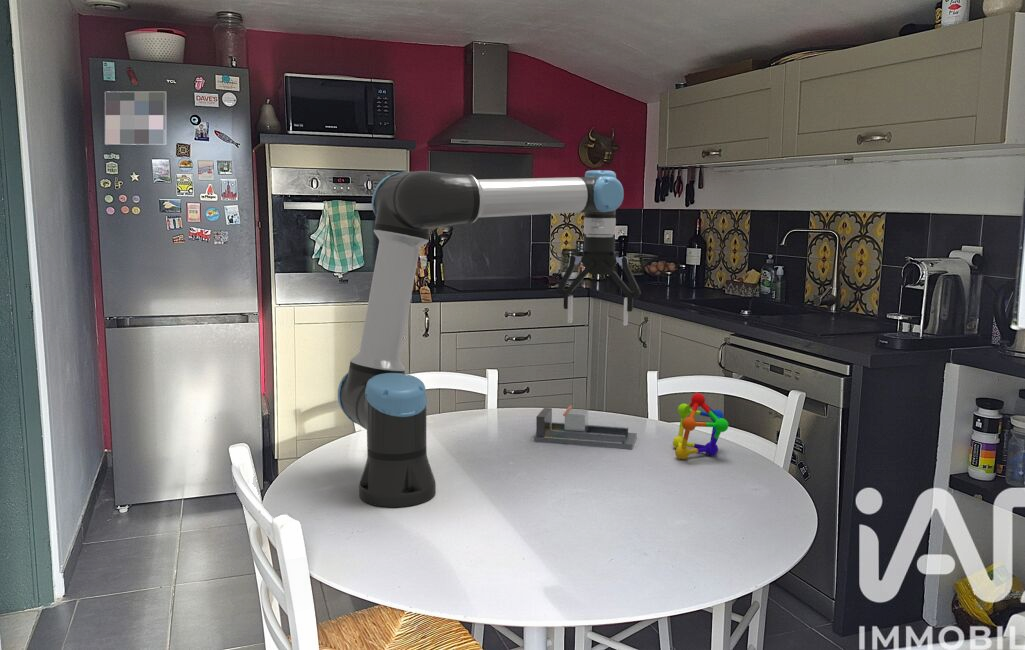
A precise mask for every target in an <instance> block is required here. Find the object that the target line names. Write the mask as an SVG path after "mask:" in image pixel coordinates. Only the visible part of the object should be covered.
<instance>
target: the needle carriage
mask: <svg viewBox="0 0 1025 650" xmlns="http://www.w3.org/2000/svg"><path fill="white" fill-rule="evenodd" d="M562 415H563V416H564V423H565V425H564V431H573V432H586V433H587V431H588V425H589V410H588V409H580V408H573V405H572V404H570V405H569V406H568V407H567V409H566V410H565V411H564V413H563V414H562Z"/></svg>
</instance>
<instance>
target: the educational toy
mask: <svg viewBox="0 0 1025 650" xmlns="http://www.w3.org/2000/svg"><path fill="white" fill-rule="evenodd" d="M699 407H701V408H702V409H703V410H704V411H703V410H698V408H699ZM677 412H678V415H680V421H679V428H678V429H679V430H678V436H675V437H674V439H673V440H672V446H673V447H674V448H675V457H676V458H678V459H679V460H686V459H687V458H688V457H689V456H690V455H691V454H693V455H694V454H700V453H705V454H707V455H708V456H710V455H713V456H715V455H717V453H718V451H719V447H718V445H717V442H718V439H719V438H720V435H721V433H724V432H726V431H727V430H728V429H729V422H728V421H727V420H726V418H725V415H724V413H723V411H722V410H720V409H714V410H713V409H712V408H711V407H710V406H709V405H708V404H707V403H706V398H705V396H704V394H702V393H700V392H696V393H694V394H693V395H692V396H691V402H689V403H688V404H687V403H681V404H679V405H678V407H677ZM696 415H697V416H702V417H707V418H710V420H711V421H712V422H704V421H703V422H701V421H696V420H695V417H696ZM696 427H698V428H699V427H701V428H712V431H711V435H710V441H708V442H707V443H705V444H700V443H699V444H698V443H695V442H688V440H689V437H690V433H691V432H692V431H694V430H695V429H696ZM688 447H689V448H690V449H689V448H688Z"/></svg>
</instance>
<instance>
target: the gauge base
mask: <svg viewBox="0 0 1025 650" xmlns="http://www.w3.org/2000/svg"><path fill="white" fill-rule="evenodd" d="M535 421H536V423H535V424H536V425H535V426H536V427H535V429H536V430H535V431H536V432H535V433H536V434H535V435H534V436H533V442H535V443H536V442H537V443H547V444H548V443H549V444H559V445H561V444H562V445H573V446H585V447H586V446H587V447H597V448H598V447H599V448H609V449H610V448H611V449H625V450H633V448H634V446H635V443H636V441H637V437H638V434H637V433H636V432H629V427H623V426H622V427H621V426H608V425H597V424H596V425H593V424H588V431H587V433H586V432H573V431H564V425H565V422H556V421H555V422H553V408H552V407H543V409H542V410H541V411H540V412H539V413H538V414H537V416H536V420H535Z"/></svg>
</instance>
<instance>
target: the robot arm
mask: <svg viewBox="0 0 1025 650" xmlns="http://www.w3.org/2000/svg"><path fill="white" fill-rule="evenodd" d="M624 192H625V191H624V187H623V185H622V183H621V182H620V180H619V179H617V173H616V172H615V171H612V170H601V169H600V170H599V169H598V170H587V171H585V173H584V176H581V177H579V176H577V177H571V176H570V177H537V178H535V177H532V178H525V177H524V178H491V179H490V178H487V179H486V178H484V179H481V178H480V179H477V178H476V177H475V176H474V175H473V174H455V173H445V172H437V171H431V170H418V171H398V172H394V173H391V174H389V175H388V176H386V177H384V178H383V179H382V180H380V181H379V182H378V184H377V185H376V186H375V188H374V190H373V193H372V195H371V197H372V198H371V207H372V211H373V213H374V216H375V219H374V220H375V221H374V227H373V233H374V235H375V236H376V237H377V239H378V248H377V251H376V252H377V253H376V258H375V262H374V269H373V274H372V279H371V285H370V286H371V287H370V291H369V298H368V303H367V309H366V313H365V319H364V324H363V330H362V335H361V342H360V347H359V352H358V354H356V355H355V356H353V357H352V358H351V359H350V362H349V367H348V371H347V373H346V374H345V375H344V376H343V377H342V378H341V381H340V382H339V384H338V389H337V401H338V405H339V407H340V409H341V410H342V412H343V413H344V414H345V416H346V417H347V418H348V419H349V420H350V421H351V422H352V423H354V424H356V425H359V426H360V427H362V428H363V429H365V430H366V447H367V449H366V450H367V453H366V461H365V465H364V468H363V470H362V474H361V476H360V480H359V484H358V496H359V498H360V500H361V501H363V502H364V503H366V504H370V505H373V506H377V507H385V508H386V507H387V508H400V507H409V506H415V505H419V504H422V503H425V502H428V501H429V500H432V499H433V498H434V497H435V496H436V491H437V490H436V489H437V488H436V487H437V483H436V479H435V476H434V474H433V470H432V467H431V465H430V461H429V458H428V456H427V405H428V397H427V393H426V391H427V390H426V385H425V383H424V382H423V381H422V379H420V378H419V377H417V376H414V375H410V374H405V373H406V367H405V366H404V364H403V363H402V360H401V354H402V349H403V344H404V338H405V332H406V329H407V328H406V326H407V322H408V316H409V311H410V306H411V305H410V304H411V300H412V294H413V289H414V283H415V277H416V273H417V266H418V261H419V256H420V250H421V249H422V247H424V245H426V244H428V243H429V240H430V237H431V231H432V230H431V229H437V228H438V229H439V228H443V227H447V226H454V225H461V224H473V223H475V222H476V221H477V220H478V219H479V218H492V217H493V218H496V217H512V216H515V217H516V216H531V215H532V216H534V215H551V214H567V213H568V214H571V213H573V214H574V213H575V214H576V213H583V215H584V216H583V217H584V218H583V234H584V235H585V237H584V238H583V254H582V256H577V255H570V256H569V257H570V258H569V264H568V266H567V268H566V270H565V272H564V274H563V276H562V278H561V280H560V282H559V283H558V286H557V288H556V293H557V294H560V295H562V296H563V309H564V310H567V324H572V323H573V320H574V319H573V317H574V316H573V315H574V313H573V312H574V310H573V309H574V304H573V303H574V302H573V301H574V295H571V293H572V292H573V291H574V290H575V289H576V288H577V287H578V286H579V284H580V283H581V282H582V281H583V280H584V278H586V276H587V275H588V274H590V275H592V276H596V275H599V276H606V275H609V277H611V278H612V280H613V281H614V282H615V284H616V285H617V286H618V288H619V289H620V290H621V291H622V292H623V294H624V295H625V296H626V297H624V298H623V319H622V320H623V326H626V327H627V325H629V312H632V311H633V309H634V298H635V297H639V296H640V295H641V294H642V293H641V289H640V287H639V285H638V282H637V281H636V278H635V277H634V274H633V272H632V270H631V267H630V264H629V258H628V256H622V257H617V256H616V238H615V236H614V235H615V234H616V224H617V219H616V217H617V216H616V212H617V209H618V208H620V206H621V205H622V204H623V201H624V195H625V193H624ZM613 236H614V237H613ZM580 262H581V263H582V265H583V267H584V268H583V269H582V270H581V272H580V274H579V275H578V276H577V277H576V278H575V279H574V280H573V281H572V282H571V284H570V285H568V287H567V288H566V289H565V287H566V286H567V283H568V281H569V280H570V278H571V276H572V274H573V272H574V270H575V268H576V267H577V266H578V265H579V263H580ZM617 263H618V265H619V267H622V270H623V271H624V274H625V276H626V278H627V280H628V283H629V285H630V287H631V289H632V291H631V289H630V288H629V286H628V285H627V284H626V283H625V282H624V280H623V279H622V278H621V277H620V276H619V274H618V273H617V271H616V270H615V269H614V267H615V265H617Z"/></svg>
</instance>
